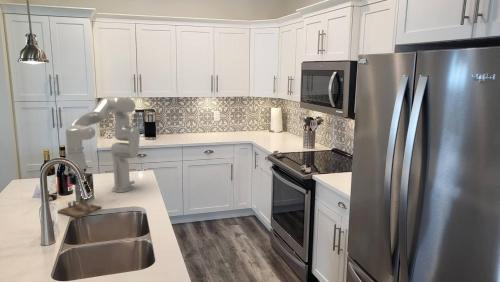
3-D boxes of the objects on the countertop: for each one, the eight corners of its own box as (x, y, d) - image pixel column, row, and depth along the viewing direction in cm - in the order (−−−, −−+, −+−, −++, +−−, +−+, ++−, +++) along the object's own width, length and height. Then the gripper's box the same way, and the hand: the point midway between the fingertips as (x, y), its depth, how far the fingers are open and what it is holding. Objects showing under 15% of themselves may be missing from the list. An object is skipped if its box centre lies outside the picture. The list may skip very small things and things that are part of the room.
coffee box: (85, 197, 227) (83, 172, 224) (94, 198, 226) (93, 173, 223) (75, 202, 218) (73, 176, 215) (85, 203, 217) (83, 177, 214)
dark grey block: (76, 181, 206) (75, 171, 205) (86, 183, 203) (85, 173, 202) (68, 183, 202) (67, 173, 201) (78, 186, 199) (77, 175, 197)
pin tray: (81, 203, 216) (81, 197, 215) (101, 208, 209) (100, 201, 208) (57, 212, 202) (56, 205, 201) (77, 218, 195) (76, 210, 194)
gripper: (83, 147, 208) (85, 177, 212) (56, 152, 193) (58, 185, 197) (92, 148, 205) (94, 179, 208) (65, 154, 190) (68, 187, 193)
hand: (77, 182), depth 202 cm, fingers closed on dark grey block, 5 cm apart
